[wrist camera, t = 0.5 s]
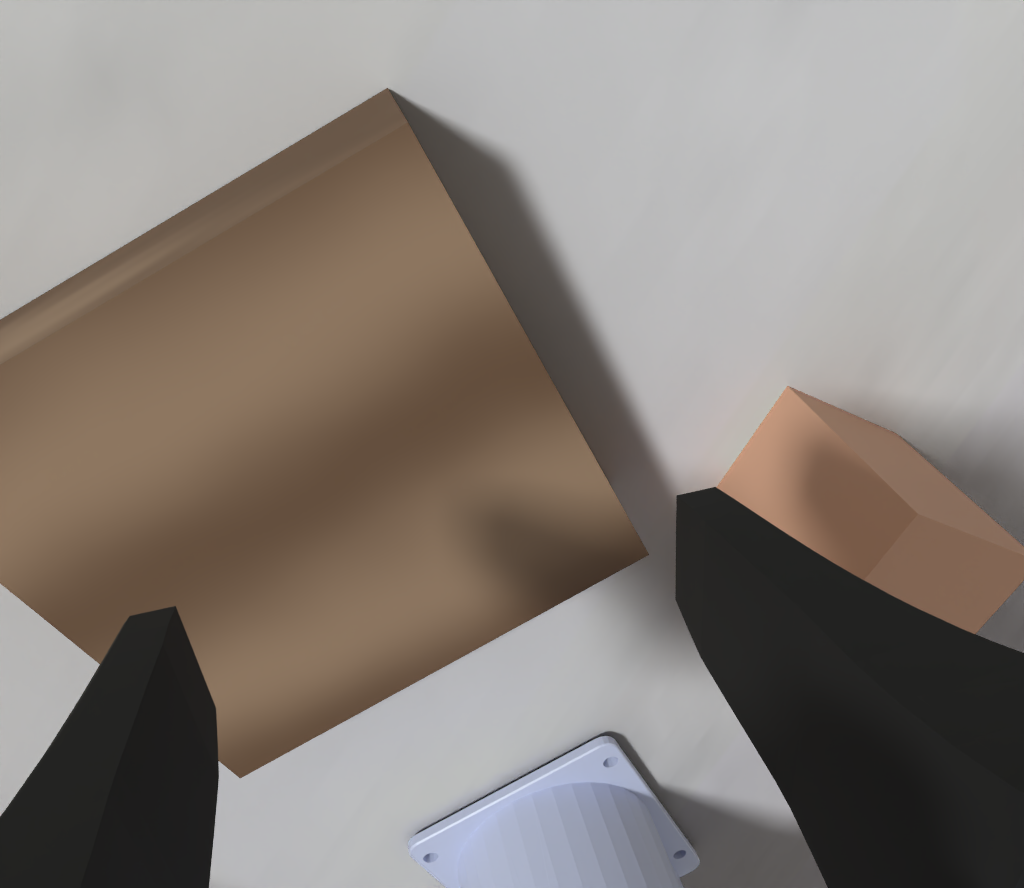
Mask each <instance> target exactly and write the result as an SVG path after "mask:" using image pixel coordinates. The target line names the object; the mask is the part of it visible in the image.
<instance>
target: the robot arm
mask: <svg viewBox="0 0 1024 888" xmlns="http://www.w3.org/2000/svg"><path fill="white" fill-rule="evenodd" d="M676 601H677V604H678V606H679V609H680V611H681V613H682V616H683V618H684V620H685V623H686V625H687V627H688V630H689V632H690V634H691V636H692V639H693V641H694V643H695V645H696V647H697V650H698V652H699V654H700V656H701V658H702V660H703V662H704V663H705V665H706V667H707V669H708V670H709V672H710V674H711V675H712V677H713V679H714V680H715V682H716V684H717V685H718V687H719V689H720V690H721V692H722V694H723V695H724V697H725V699H726V700H727V702H728V704H729V705H730V707H731V709H732V710H733V712H734V714H735V715H736V717H737V719H738V720H739V722H740V724H741V725H742V727H743V728H744V730H745V732H746V733H747V735H748V737H749V738H750V740H751V742H752V743H753V745H754V747H755V748H756V750H757V751H758V753H759V755H760V756H761V758H762V760H763V761H764V763H765V765H766V766H767V768H768V770H769V771H770V773H771V775H772V776H773V778H774V779H775V781H776V783H777V785H778V787H779V788H780V790H781V792H782V794H783V796H784V797H785V799H786V801H787V803H788V805H789V807H790V808H791V810H792V812H793V815H794V817H795V819H796V821H797V823H798V825H799V827H800V829H801V831H802V833H803V836H804V838H805V840H806V842H807V844H808V846H809V848H810V850H811V852H812V854H813V857H814V859H815V861H816V863H817V865H818V867H819V869H820V871H821V873H822V876H823V878H824V880H825V882H826V885H827V887H828V888H1024V653H1022V652H1019V651H1016V650H1014V649H1011V648H1008V647H1006V646H1003V645H1000V644H998V643H995V642H993V641H990V640H988V639H985V638H983V637H980V636H978V635H976V634H973V633H971V632H968V631H966V630H964V629H961V628H959V627H957V626H955V625H953V624H950V623H948V622H946V621H944V620H942V619H939V618H937V617H935V616H933V615H931V614H929V613H926V612H924V611H922V610H920V609H918V608H916V607H914V606H912V605H910V604H908V603H906V602H904V601H902V600H900V599H898V598H896V597H894V596H892V595H890V594H888V593H886V592H885V591H883V590H881V589H879V588H877V587H875V586H874V585H872V584H870V583H868V582H866V581H864V580H863V579H861V578H859V577H857V576H855V575H854V574H852V573H850V572H848V571H847V570H845V569H843V568H842V567H840V566H838V565H836V564H835V563H833V562H831V561H830V560H828V559H826V558H825V557H823V556H821V555H820V554H818V553H817V552H815V551H813V550H812V549H810V548H809V547H807V546H805V545H804V544H802V543H801V542H799V541H798V540H796V539H794V538H793V537H791V536H790V535H788V534H787V533H785V532H784V531H782V530H780V529H779V528H777V527H776V526H774V525H773V524H771V523H770V522H768V521H767V520H765V519H764V518H762V517H761V516H759V515H758V514H756V513H755V512H753V511H752V510H750V509H749V508H747V507H746V506H744V505H743V504H741V503H740V502H738V501H737V500H735V499H734V498H732V497H731V496H729V495H727V494H726V493H724V492H723V491H721V490H720V489H718V488H716V487H713V488H709V489H704V490H700V491H695V492H691V493H686V494H682V495H677V510H676ZM218 779H219V771H218V737H217V715H216V707H215V704H214V701H213V699H212V696H211V694H210V691H209V689H208V686H207V684H206V681H205V679H204V676H203V674H202V671H201V669H200V666H199V664H198V661H197V659H196V656H195V653H194V651H193V648H192V646H191V643H190V641H189V638H188V636H187V633H186V631H185V628H184V626H183V623H182V621H181V618H180V616H179V613H178V611H177V608H176V606H173V607H168V608H163V609H159V610H154V611H150V612H145V613H141V614H136V615H132V616H129V618H128V619H127V620H126V622H125V623H124V624H123V626H122V628H121V629H120V631H119V633H118V635H117V636H116V638H115V640H114V641H113V643H112V645H111V647H110V648H109V650H108V652H107V653H106V655H105V657H104V659H103V660H102V662H101V664H100V666H99V667H98V669H97V671H96V672H95V674H94V676H93V677H92V679H91V681H90V682H89V684H88V686H87V687H86V689H85V691H84V692H83V694H82V696H81V697H80V699H79V701H78V702H77V704H76V705H75V707H74V709H73V710H72V712H71V713H70V715H69V717H68V718H67V720H66V721H65V723H64V724H63V726H62V728H61V729H60V731H59V732H58V734H57V736H56V737H55V739H54V740H53V742H52V743H51V745H50V747H49V748H48V750H47V751H46V753H45V754H44V756H43V757H42V759H41V760H40V761H39V763H38V764H37V766H36V767H35V769H34V770H33V771H32V773H31V774H30V776H29V777H28V778H27V780H26V781H25V783H24V784H23V786H22V787H21V788H20V790H19V791H18V793H17V794H16V796H15V797H14V798H13V800H12V801H11V803H10V804H9V806H8V807H7V808H6V810H5V811H4V812H3V814H2V815H1V816H0V888H209V879H210V868H211V858H212V847H213V837H214V826H215V815H216V803H217V792H218ZM408 851H409V855H410V856H411V857H412V858H413V859H414V860H415V861H416V862H417V863H419V864H420V865H421V866H422V867H423V868H424V869H425V870H426V871H428V872H429V873H430V874H431V875H432V876H433V877H434V878H435V879H437V880H438V881H439V882H440V883H441V884H442V885H443V886H444V887H446V888H684V887H683V885H682V882H681V880H680V877H682V876H684V875H686V874H688V873H690V872H692V871H693V870H695V869H696V868H697V867H698V866H699V863H700V859H699V857H698V855H697V853H696V851H695V850H694V848H693V847H692V846H691V844H690V843H689V841H688V840H687V839H686V837H685V836H684V834H683V833H682V832H681V830H680V829H679V828H678V826H677V825H676V823H675V822H674V821H673V819H672V818H671V816H670V815H669V814H668V812H667V811H666V810H665V808H664V807H663V805H662V804H661V803H660V801H659V800H658V798H657V797H656V796H655V794H654V793H653V792H652V790H651V789H650V787H649V786H648V785H647V783H646V782H645V780H644V779H643V778H642V776H641V775H640V774H639V772H638V771H637V769H636V768H635V767H634V765H633V764H632V762H631V761H630V760H629V758H628V757H627V756H626V754H625V753H624V751H623V750H622V749H621V747H620V746H619V744H618V743H617V742H616V740H615V739H614V738H612V737H610V736H601V737H598V738H596V739H594V740H592V741H590V742H588V743H586V744H584V745H583V746H581V747H579V748H577V749H575V750H573V751H571V752H569V753H568V754H566V755H564V756H562V757H560V758H558V759H556V760H554V761H553V762H551V763H549V764H547V765H545V766H543V767H541V768H539V769H538V770H536V771H534V772H532V773H530V774H528V775H526V776H524V777H523V778H521V779H519V780H517V781H515V782H513V783H511V784H510V785H508V786H506V787H504V788H502V789H500V790H498V791H496V792H495V793H493V794H491V795H489V796H487V797H485V798H483V799H481V800H480V801H478V802H476V803H474V804H472V805H470V806H468V807H466V808H465V809H463V810H461V811H459V812H457V813H455V814H453V815H451V816H450V817H448V818H446V819H444V820H442V821H440V822H438V823H436V824H435V825H433V826H431V827H429V828H427V829H425V830H423V831H421V832H420V833H418V834H416V835H414V836H413V837H412V838H411V839H410V840H409V841H408Z"/></svg>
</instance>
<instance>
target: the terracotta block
mask: <svg viewBox="0 0 1024 888" xmlns="http://www.w3.org/2000/svg"><path fill="white" fill-rule="evenodd" d="M717 488H718V489H720V490H721V491H723V492H724V493H726V494H727V495H729V496H731V497H732V498H734V499H735V500H737V501H738V502H740V503H741V504H743V505H744V506H746V507H747V508H749V509H750V510H752V511H753V512H755V513H756V514H758V515H759V516H761V517H762V518H764V519H765V520H767V521H768V522H770V523H771V524H773V525H774V526H776V527H777V528H779V529H780V530H782V531H784V532H785V533H787V534H788V535H790V536H791V537H793V538H794V539H796V540H798V541H799V542H801V543H802V544H804V545H805V546H807V547H809V548H810V549H812V550H813V551H815V552H817V553H818V554H820V555H821V556H823V557H825V558H826V559H828V560H830V561H831V562H833V563H835V564H836V565H838V566H840V567H842V568H843V569H845V570H847V571H848V572H850V573H852V574H854V575H855V576H857V577H859V578H861V579H863V580H864V581H866V582H868V583H870V584H872V585H874V586H875V587H877V588H879V589H881V590H883V591H885V592H886V593H888V594H890V595H892V596H894V597H896V598H898V599H900V600H902V601H904V602H906V603H908V604H910V605H912V606H914V607H916V608H918V609H920V610H922V611H924V612H926V613H929V614H931V615H933V616H935V617H937V618H939V619H942V620H944V621H946V622H948V623H950V624H953V625H955V626H957V627H959V628H961V629H964V630H966V631H968V632H971V633H973V634H976V633H977V632H978V630H979V629H980V628H981V627H982V626H983V625H984V624H985V623H986V622H987V621H988V619H989V618H990V617H991V616H992V615H993V614H994V613H995V612H996V611H997V610H998V608H999V607H1000V606H1001V605H1002V604H1003V603H1004V602H1005V601H1006V600H1007V598H1008V597H1009V596H1010V595H1011V594H1012V593H1013V592H1014V591H1015V590H1016V589H1017V587H1018V586H1019V585H1020V584H1021V583H1022V582H1023V581H1024V546H1023V545H1021V544H1020V543H1019V542H1018V541H1017V540H1016V539H1015V538H1014V537H1012V536H1011V535H1010V534H1009V533H1008V532H1007V531H1006V530H1005V529H1003V528H1002V527H1001V526H1000V525H999V524H998V523H997V522H996V521H994V520H993V519H992V518H991V517H990V516H989V515H988V514H987V513H985V512H984V511H983V510H982V509H981V508H980V507H979V506H978V505H976V504H975V503H974V502H973V501H972V500H971V499H970V498H968V497H967V496H966V495H965V494H964V493H963V492H962V491H961V490H959V489H958V488H957V487H956V486H955V485H954V484H953V483H952V482H950V481H949V480H948V479H947V478H946V477H945V476H944V475H943V474H941V473H940V472H939V471H938V470H937V469H936V468H935V467H934V466H932V465H931V464H930V463H929V462H928V461H927V460H926V459H925V458H923V457H922V456H921V455H920V454H919V453H918V452H917V451H916V450H914V449H913V448H912V447H911V446H910V445H909V444H908V443H907V442H905V441H904V440H903V439H902V438H901V437H900V436H899V435H898V434H896V433H894V432H892V431H889V430H887V429H885V428H882V427H880V426H878V425H876V424H873V423H871V422H869V421H866V420H864V419H862V418H860V417H857V416H855V415H853V414H850V413H848V412H846V411H844V410H841V409H839V408H837V407H835V406H832V405H830V404H828V403H825V402H823V401H821V400H819V399H816V398H814V397H812V396H809V395H807V394H805V393H803V392H800V391H798V390H796V389H793V388H791V387H789V386H787V387H786V389H785V390H784V392H783V393H782V394H781V396H780V397H779V399H778V400H777V402H776V403H775V404H774V406H773V407H772V409H771V410H770V412H769V413H768V414H767V416H766V417H765V419H764V420H763V422H762V423H761V424H760V426H759V427H758V429H757V430H756V432H755V433H754V435H753V436H752V437H751V439H750V440H749V442H748V443H747V445H746V446H745V447H744V449H743V450H742V452H741V453H740V455H739V456H738V457H737V459H736V460H735V462H734V463H733V465H732V466H731V467H730V469H729V470H728V472H727V473H726V475H725V476H724V478H723V479H722V480H721V482H720V483H719V485H718V486H717Z"/></svg>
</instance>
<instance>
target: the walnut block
mask: <svg viewBox="0 0 1024 888" xmlns="http://www.w3.org/2000/svg"><path fill="white" fill-rule="evenodd" d="M648 555H649V554H648V552H647V550H646V548H645V547H644V545H643V543H642V541H641V539H640V538H639V536H638V534H637V532H636V530H635V529H634V527H633V525H632V523H631V521H630V520H629V518H628V516H627V514H626V512H625V511H624V509H623V507H622V505H621V504H620V502H619V500H618V498H617V496H616V495H615V493H614V491H613V489H612V487H611V486H610V484H609V482H608V480H607V478H606V477H605V475H604V473H603V471H602V469H601V468H600V466H599V464H598V462H597V460H596V459H595V457H594V455H593V453H592V452H591V450H590V448H589V446H588V444H587V443H586V441H585V439H584V437H583V435H582V434H581V432H580V430H579V428H578V426H577V425H576V423H575V421H574V419H573V417H572V416H571V414H570V412H569V410H568V408H567V407H566V405H565V403H564V401H563V400H562V398H561V396H560V394H559V392H558V391H557V389H556V387H555V385H554V383H553V382H552V380H551V378H550V376H549V374H548V373H547V371H546V369H545V367H544V365H543V364H542V362H541V360H540V358H539V356H538V355H537V353H536V351H535V349H534V348H533V346H532V344H531V342H530V340H529V339H528V337H527V335H526V333H525V331H524V330H523V328H522V326H521V324H520V322H519V321H518V319H517V317H516V315H515V313H514V312H513V310H512V308H511V306H510V304H509V303H508V301H507V299H506V297H505V296H504V294H503V292H502V290H501V288H500V287H499V285H498V283H497V281H496V279H495V278H494V276H493V274H492V272H491V270H490V269H489V267H488V265H487V263H486V261H485V260H484V258H483V256H482V254H481V252H480V251H479V249H478V247H477V245H476V244H475V242H474V240H473V238H472V236H471V235H470V233H469V231H468V229H467V227H466V226H465V224H464V222H463V220H462V218H461V217H460V215H459V213H458V211H457V209H456V208H455V206H454V204H453V202H452V200H451V199H450V197H449V195H448V193H447V192H446V190H445V188H444V186H443V184H442V183H441V181H440V179H439V177H438V175H437V174H436V172H435V170H434V168H433V166H432V165H431V163H430V161H429V159H428V157H427V156H426V154H425V152H424V150H423V148H422V147H421V145H420V143H419V141H418V140H417V138H416V136H415V134H414V132H413V131H412V129H411V127H410V125H409V123H408V122H407V120H406V118H405V117H404V115H403V113H402V111H401V110H400V108H399V106H398V105H397V103H396V101H395V100H394V98H393V96H392V94H391V93H390V91H389V89H388V88H387V89H385V90H383V91H382V92H380V93H378V94H377V95H375V96H373V97H372V98H370V99H368V100H367V101H365V102H363V103H362V104H360V105H358V106H357V107H355V108H353V109H352V110H350V111H348V112H347V113H345V114H343V115H342V116H340V117H338V118H337V119H335V120H333V121H332V122H330V123H328V124H327V125H325V126H323V127H322V128H320V129H318V130H317V131H315V132H313V133H312V134H310V135H308V136H307V137H305V138H303V139H302V140H300V141H298V142H297V143H295V144H293V145H291V146H290V147H288V148H286V149H285V150H283V151H281V152H280V153H278V154H276V155H275V156H273V157H271V158H270V159H268V160H266V161H265V162H263V163H261V164H260V165H258V166H256V167H255V168H253V169H251V170H250V171H248V172H246V173H245V174H243V175H241V176H240V177H238V178H236V179H235V180H233V181H231V182H230V183H228V184H226V185H225V186H223V187H221V188H220V189H218V190H216V191H215V192H213V193H211V194H210V195H208V196H206V197H205V198H203V199H201V200H200V201H198V202H196V203H195V204H193V205H191V206H190V207H188V208H186V209H185V210H183V211H181V212H180V213H178V214H176V215H175V216H173V217H171V218H170V219H168V220H166V221H165V222H163V223H161V224H160V225H158V226H156V227H155V228H153V229H151V230H150V231H148V232H146V233H144V234H143V235H141V236H139V237H138V238H136V239H134V240H133V241H131V242H129V243H128V244H126V245H124V246H123V247H121V248H119V249H118V250H116V251H114V252H113V253H111V254H109V255H108V256H106V257H104V258H103V259H101V260H99V261H98V262H96V263H94V264H93V265H91V266H89V267H88V268H86V269H84V270H83V271H81V272H79V273H78V274H76V275H74V276H73V277H71V278H69V279H68V280H66V281H64V282H63V283H61V284H59V285H58V286H56V287H54V288H53V289H51V290H49V291H48V292H46V293H44V294H43V295H41V296H39V297H38V298H36V299H34V300H33V301H31V302H29V303H28V304H26V305H24V306H23V307H21V308H19V309H18V310H16V311H14V312H13V313H11V314H9V315H8V316H6V317H4V318H3V319H1V320H0V583H1V584H2V585H3V586H4V587H6V588H7V589H8V590H9V591H10V592H12V593H13V594H14V595H15V596H17V597H18V598H19V599H20V600H22V601H23V602H24V603H25V604H26V605H28V606H29V607H30V608H31V609H33V610H34V611H35V612H36V613H38V614H39V615H40V616H41V617H42V618H44V619H45V620H46V621H47V622H49V623H50V624H51V625H52V626H54V627H55V628H56V629H57V630H58V631H60V632H61V633H62V634H63V635H65V636H66V637H67V638H68V639H69V640H71V641H72V642H73V643H74V644H76V645H77V646H78V647H79V648H81V649H82V650H83V651H84V652H85V653H87V654H88V655H89V656H90V657H92V658H93V659H94V660H95V661H97V662H98V663H99V664H101V662H102V660H103V659H104V657H105V655H106V653H107V652H108V650H109V648H110V647H111V645H112V643H113V641H114V640H115V638H116V636H117V635H118V633H119V631H120V629H121V628H122V626H123V624H124V623H125V622H126V620H127V619H128V618H129V616H132V615H136V614H141V613H145V612H150V611H154V610H159V609H163V608H168V607H173V606H176V608H177V611H178V613H179V616H180V618H181V621H182V623H183V626H184V628H185V631H186V633H187V636H188V638H189V641H190V643H191V646H192V648H193V651H194V653H195V656H196V659H197V661H198V664H199V666H200V669H201V671H202V674H203V676H204V679H205V681H206V684H207V686H208V689H209V691H210V694H211V696H212V699H213V701H214V704H215V707H216V715H217V737H218V761H220V762H221V763H222V764H223V765H225V766H226V767H227V768H228V769H229V770H231V771H232V772H233V773H234V774H236V775H237V776H238V777H239V778H242V777H243V776H245V775H247V774H249V773H251V772H253V771H254V770H256V769H258V768H260V767H262V766H264V765H265V764H267V763H269V762H271V761H273V760H275V759H276V758H278V757H280V756H282V755H284V754H286V753H287V752H289V751H291V750H293V749H295V748H296V747H298V746H300V745H302V744H304V743H306V742H307V741H309V740H311V739H313V738H315V737H317V736H318V735H320V734H322V733H324V732H326V731H328V730H329V729H331V728H333V727H335V726H337V725H339V724H340V723H342V722H344V721H346V720H348V719H349V718H351V717H353V716H355V715H357V714H359V713H360V712H362V711H364V710H366V709H368V708H370V707H371V706H373V705H375V704H377V703H379V702H381V701H382V700H384V699H386V698H388V697H390V696H392V695H393V694H395V693H397V692H399V691H401V690H403V689H404V688H406V687H408V686H410V685H412V684H413V683H415V682H417V681H419V680H421V679H423V678H424V677H426V676H428V675H430V674H432V673H434V672H435V671H437V670H439V669H441V668H443V667H445V666H446V665H448V664H450V663H452V662H454V661H456V660H457V659H459V658H461V657H463V656H465V655H467V654H468V653H470V652H472V651H474V650H476V649H477V648H479V647H481V646H483V645H485V644H487V643H488V642H490V641H492V640H494V639H496V638H498V637H499V636H501V635H503V634H505V633H507V632H509V631H510V630H512V629H514V628H516V627H518V626H520V625H521V624H523V623H525V622H527V621H529V620H531V619H532V618H534V617H536V616H538V615H540V614H541V613H543V612H545V611H547V610H549V609H551V608H552V607H554V606H556V605H558V604H560V603H562V602H563V601H565V600H567V599H569V598H571V597H573V596H574V595H576V594H578V593H580V592H582V591H584V590H585V589H587V588H589V587H591V586H593V585H594V584H596V583H598V582H600V581H602V580H604V579H605V578H607V577H609V576H611V575H613V574H615V573H616V572H618V571H620V570H622V569H624V568H626V567H627V566H629V565H631V564H633V563H635V562H637V561H638V560H640V559H642V558H644V557H646V556H648Z"/></svg>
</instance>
